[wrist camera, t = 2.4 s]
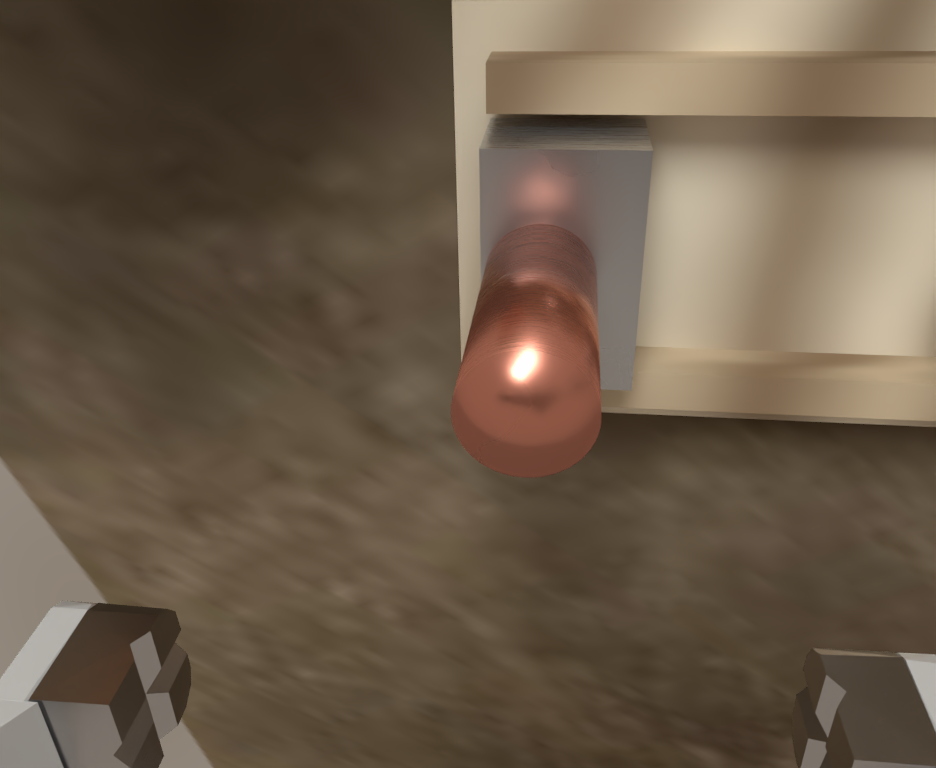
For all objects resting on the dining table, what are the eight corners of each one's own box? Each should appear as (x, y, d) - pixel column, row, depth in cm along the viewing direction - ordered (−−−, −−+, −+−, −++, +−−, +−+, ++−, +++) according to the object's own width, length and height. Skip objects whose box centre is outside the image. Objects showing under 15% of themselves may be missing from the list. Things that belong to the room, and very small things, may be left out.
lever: (645, 118, 22) (680, 259, 14) (626, 338, 25) (646, 556, 17) (491, 117, 23) (439, 253, 15) (492, 334, 26) (450, 543, 18)
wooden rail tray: (1282, -13, 21) (1539, 28, 15) (1104, 409, 27) (1241, 548, 21) (458, -7, 23) (418, 32, 17) (468, 382, 29) (440, 502, 23)
